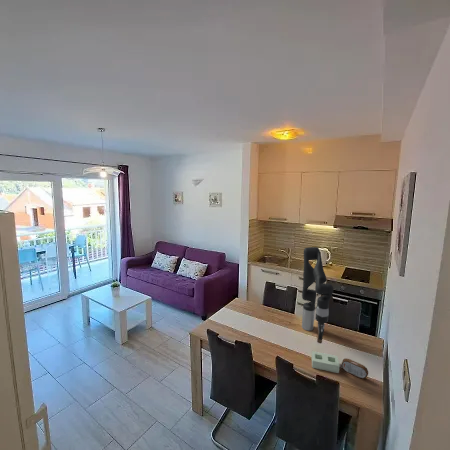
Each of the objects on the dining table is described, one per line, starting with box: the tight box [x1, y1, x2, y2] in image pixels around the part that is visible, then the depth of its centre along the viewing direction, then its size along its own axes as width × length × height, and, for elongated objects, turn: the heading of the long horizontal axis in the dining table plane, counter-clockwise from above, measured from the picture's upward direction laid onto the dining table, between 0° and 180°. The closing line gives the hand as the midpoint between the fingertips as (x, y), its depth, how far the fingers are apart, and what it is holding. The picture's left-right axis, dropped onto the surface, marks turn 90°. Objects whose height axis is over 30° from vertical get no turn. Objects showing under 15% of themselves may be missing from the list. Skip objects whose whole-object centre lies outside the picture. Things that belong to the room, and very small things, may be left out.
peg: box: [316, 330, 324, 344], centre depth 163 cm, size 3×3×10 cm
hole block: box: [311, 350, 340, 374], centre depth 165 cm, size 10×16×5 cm, turn 73°
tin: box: [341, 358, 369, 380], centre depth 157 cm, size 15×3×8 cm, turn 50°
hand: (320, 337), depth 163 cm, fingers closed on peg, 3 cm apart
